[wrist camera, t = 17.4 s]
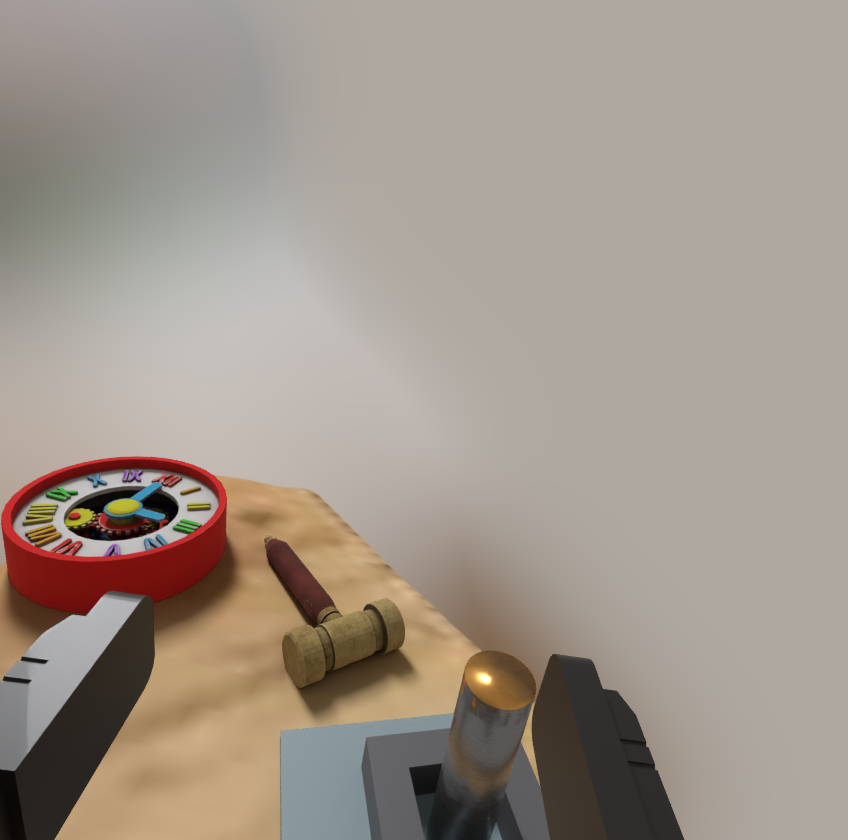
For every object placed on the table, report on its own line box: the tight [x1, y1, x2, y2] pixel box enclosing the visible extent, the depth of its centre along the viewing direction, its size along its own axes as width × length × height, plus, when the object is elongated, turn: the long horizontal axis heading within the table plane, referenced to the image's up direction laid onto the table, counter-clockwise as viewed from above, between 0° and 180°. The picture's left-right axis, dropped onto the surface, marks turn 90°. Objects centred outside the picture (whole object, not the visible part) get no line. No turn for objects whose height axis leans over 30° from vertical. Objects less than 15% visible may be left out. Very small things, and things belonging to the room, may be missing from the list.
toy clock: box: [1, 457, 227, 613], centre depth 57 cm, size 20×6×20 cm
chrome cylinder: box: [426, 651, 536, 840], centre depth 33 cm, size 4×4×14 cm
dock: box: [280, 713, 550, 840], centre depth 35 cm, size 18×18×4 cm
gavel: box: [264, 535, 405, 688], centre depth 55 cm, size 21×5×10 cm
